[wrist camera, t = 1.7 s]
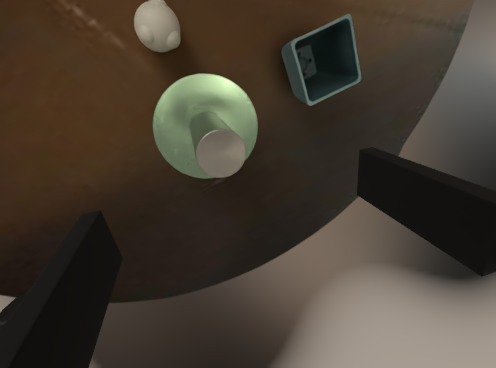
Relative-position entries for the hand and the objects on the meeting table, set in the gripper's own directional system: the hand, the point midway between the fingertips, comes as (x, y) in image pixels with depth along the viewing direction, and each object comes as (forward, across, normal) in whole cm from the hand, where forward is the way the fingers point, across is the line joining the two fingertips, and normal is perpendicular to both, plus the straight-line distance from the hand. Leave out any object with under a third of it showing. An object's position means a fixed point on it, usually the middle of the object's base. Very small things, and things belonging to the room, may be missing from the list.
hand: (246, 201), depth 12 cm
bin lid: (+18, 0, 0) cm, 19 cm away
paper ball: (+28, -3, +12) cm, 31 cm away
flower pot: (+31, +18, +5) cm, 36 cm away
